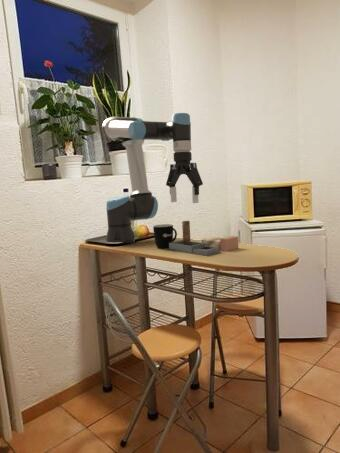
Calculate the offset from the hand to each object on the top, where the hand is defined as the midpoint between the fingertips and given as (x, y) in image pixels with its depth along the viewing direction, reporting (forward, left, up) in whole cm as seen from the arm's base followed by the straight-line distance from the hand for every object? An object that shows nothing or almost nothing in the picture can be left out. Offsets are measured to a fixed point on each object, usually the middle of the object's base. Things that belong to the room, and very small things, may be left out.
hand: (184, 202), depth 153 cm
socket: (+12, 0, -21) cm, 24 cm away
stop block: (+15, +11, -21) cm, 28 cm away
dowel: (0, 0, -20) cm, 20 cm away
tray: (0, 0, -21) cm, 21 cm away
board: (+8, +11, -21) cm, 25 cm away
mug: (-13, -1, -21) cm, 24 cm away
